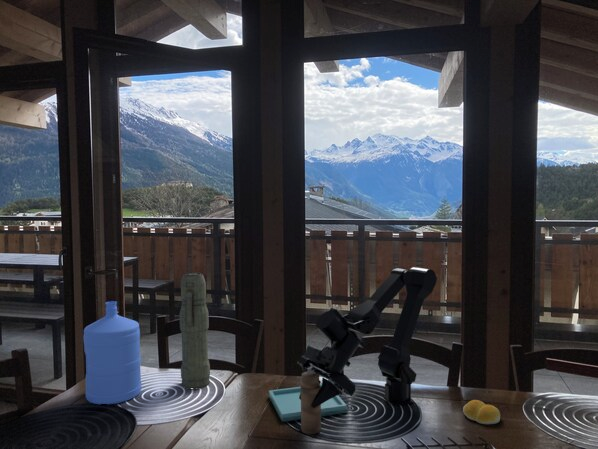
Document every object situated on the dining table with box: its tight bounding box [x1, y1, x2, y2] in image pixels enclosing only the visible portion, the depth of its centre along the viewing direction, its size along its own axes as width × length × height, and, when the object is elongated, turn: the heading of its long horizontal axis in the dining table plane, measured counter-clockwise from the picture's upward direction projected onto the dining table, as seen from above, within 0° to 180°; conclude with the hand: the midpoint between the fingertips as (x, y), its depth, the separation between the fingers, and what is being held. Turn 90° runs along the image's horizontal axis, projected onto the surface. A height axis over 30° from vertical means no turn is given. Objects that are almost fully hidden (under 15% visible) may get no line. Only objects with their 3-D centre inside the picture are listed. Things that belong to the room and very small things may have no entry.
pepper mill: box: [300, 369, 322, 435], centre depth 119 cm, size 5×5×15 cm
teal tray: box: [268, 383, 348, 423], centre depth 133 cm, size 18×16×2 cm
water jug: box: [82, 300, 142, 405], centre depth 141 cm, size 16×16×28 cm
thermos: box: [179, 272, 211, 390], centre depth 149 cm, size 9×12×35 cm
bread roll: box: [462, 399, 501, 425], centre depth 125 cm, size 8×9×4 cm
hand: (306, 403), depth 118 cm, fingers closed on pepper mill, 5 cm apart
